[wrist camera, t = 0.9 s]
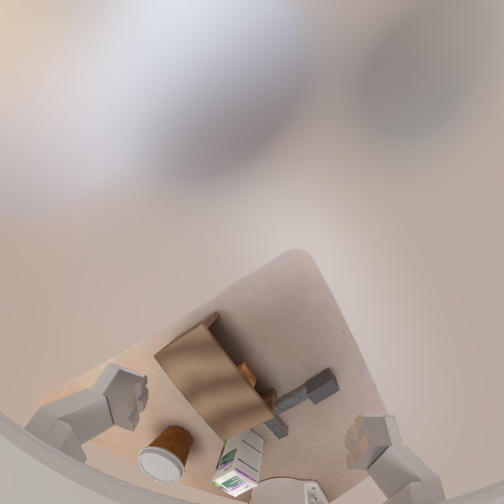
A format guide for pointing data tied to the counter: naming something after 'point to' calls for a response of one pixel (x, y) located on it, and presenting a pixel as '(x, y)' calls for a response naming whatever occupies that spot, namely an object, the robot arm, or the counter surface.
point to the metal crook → (312, 389)
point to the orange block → (247, 374)
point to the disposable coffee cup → (166, 455)
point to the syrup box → (239, 463)
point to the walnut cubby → (214, 382)
